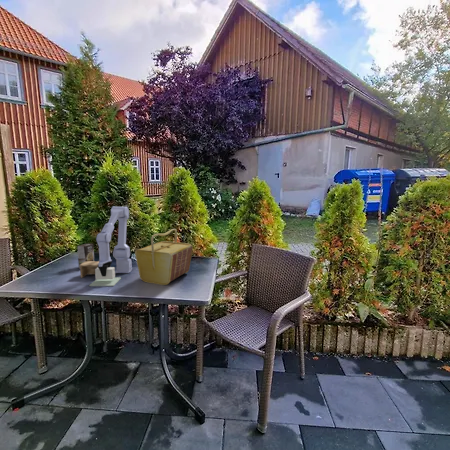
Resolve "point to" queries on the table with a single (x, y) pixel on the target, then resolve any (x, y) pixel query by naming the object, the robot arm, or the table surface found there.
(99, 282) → the pale green panel
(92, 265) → the wooden box
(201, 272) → the table surface
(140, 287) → the table surface
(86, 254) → the coffee box
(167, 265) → the picnic basket
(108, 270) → the cream block
